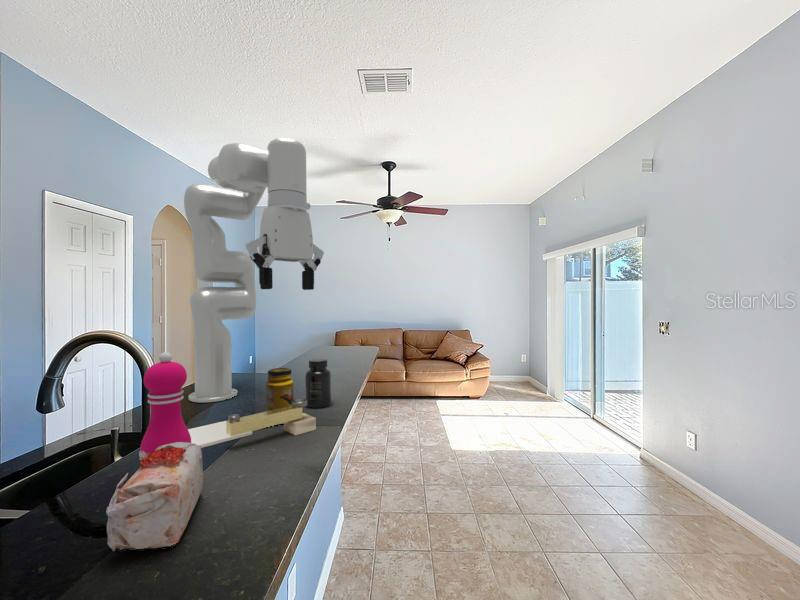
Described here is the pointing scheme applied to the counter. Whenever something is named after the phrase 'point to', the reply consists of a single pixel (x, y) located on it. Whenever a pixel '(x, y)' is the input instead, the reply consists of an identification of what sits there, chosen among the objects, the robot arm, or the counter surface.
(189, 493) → the food item
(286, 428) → the block
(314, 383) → the supplement bottle
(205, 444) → the plate
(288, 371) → the condiment
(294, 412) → the lever
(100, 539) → the counter surface
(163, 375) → the pepper mill
